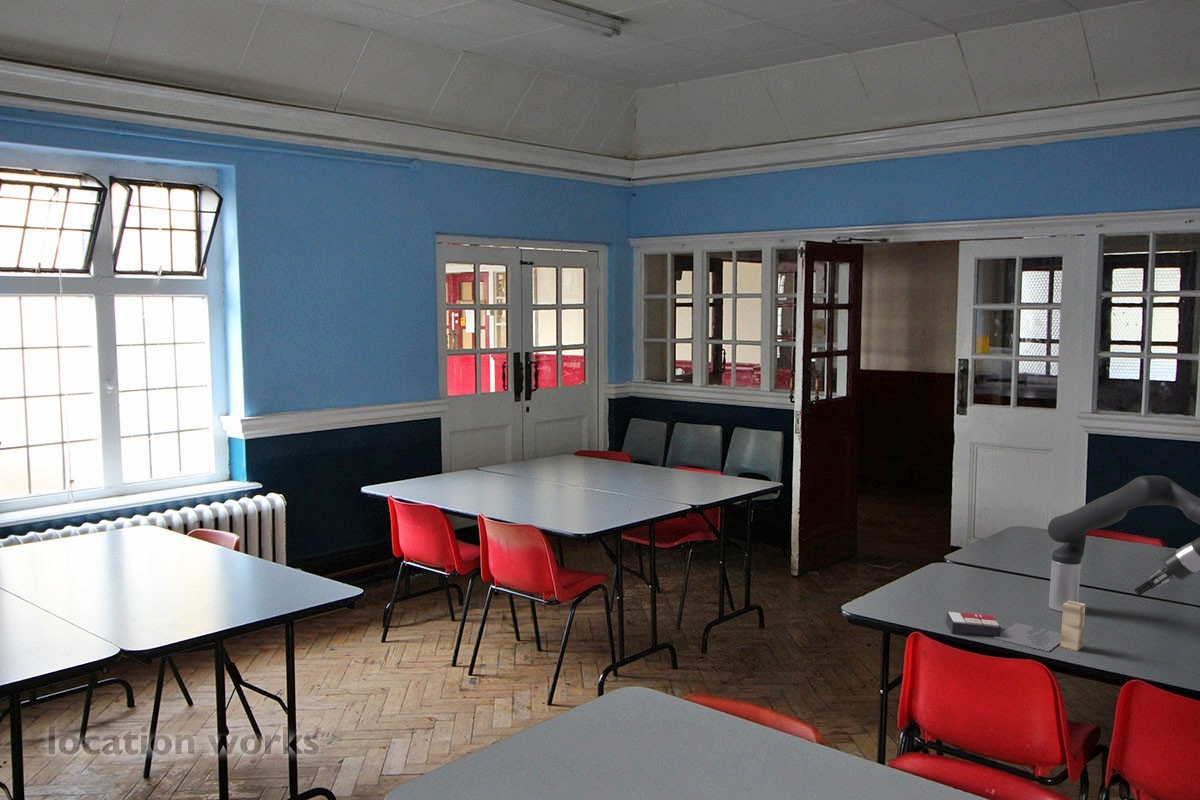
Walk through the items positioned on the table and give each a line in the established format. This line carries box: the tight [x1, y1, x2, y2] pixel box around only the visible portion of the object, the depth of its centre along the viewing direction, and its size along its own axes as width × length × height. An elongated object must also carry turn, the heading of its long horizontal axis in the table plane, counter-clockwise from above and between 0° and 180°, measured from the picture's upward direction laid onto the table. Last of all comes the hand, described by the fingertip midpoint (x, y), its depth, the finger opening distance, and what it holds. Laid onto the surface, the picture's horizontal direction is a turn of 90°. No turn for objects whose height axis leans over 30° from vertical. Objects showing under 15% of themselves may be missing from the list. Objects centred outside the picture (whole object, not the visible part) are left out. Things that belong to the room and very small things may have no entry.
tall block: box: [1059, 600, 1086, 652], centre depth 306 cm, size 5×5×14 cm
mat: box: [993, 622, 1061, 653], centre depth 315 cm, size 20×17×1 cm
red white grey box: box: [945, 611, 1002, 637], centre depth 320 cm, size 11×4×15 cm
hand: (1137, 592), depth 293 cm, fingers closed
